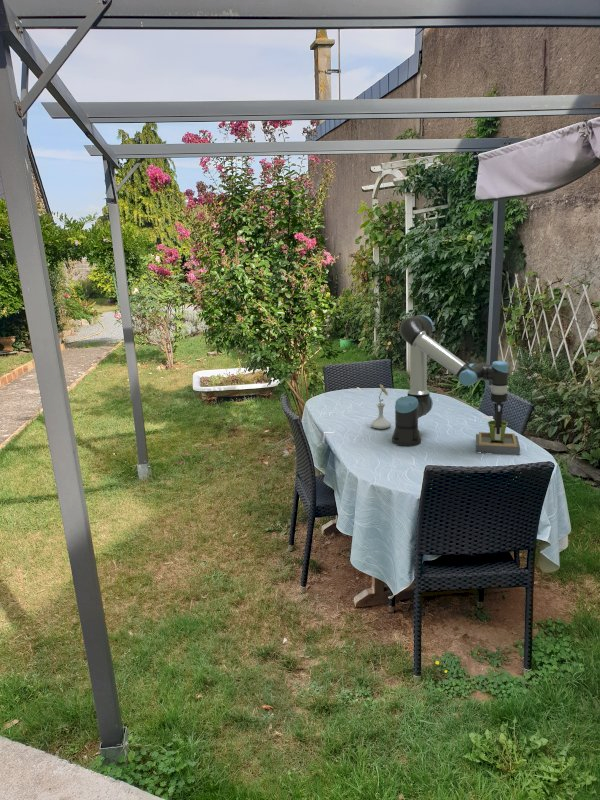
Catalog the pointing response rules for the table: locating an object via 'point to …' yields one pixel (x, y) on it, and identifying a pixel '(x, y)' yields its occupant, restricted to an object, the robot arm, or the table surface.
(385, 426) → the flower in vase
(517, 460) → the table surface
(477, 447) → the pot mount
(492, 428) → the plant pot
